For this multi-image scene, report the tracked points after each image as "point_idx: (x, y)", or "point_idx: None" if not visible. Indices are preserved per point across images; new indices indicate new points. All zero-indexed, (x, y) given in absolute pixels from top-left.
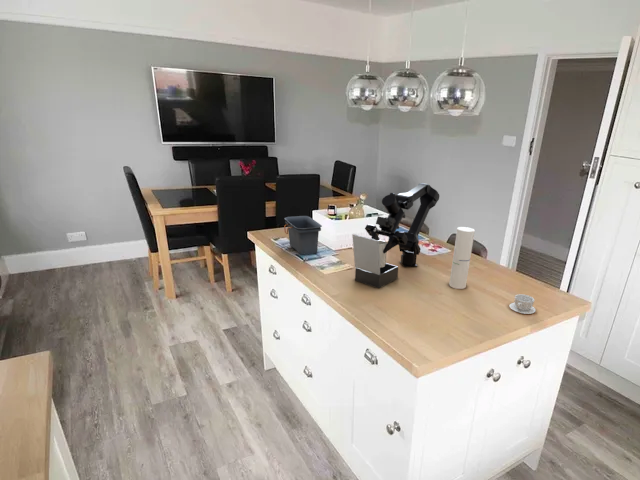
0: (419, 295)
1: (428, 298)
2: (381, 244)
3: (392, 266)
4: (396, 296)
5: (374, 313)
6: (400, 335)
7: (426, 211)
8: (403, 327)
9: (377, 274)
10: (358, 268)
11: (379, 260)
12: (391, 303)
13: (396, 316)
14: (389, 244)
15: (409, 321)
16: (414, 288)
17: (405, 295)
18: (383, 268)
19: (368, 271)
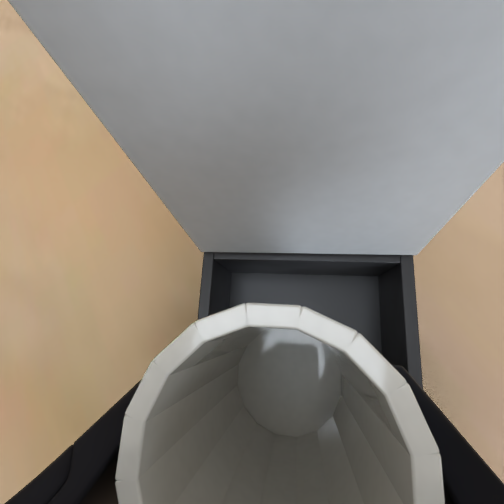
0: (42, 321)
1: (3, 318)
2: (172, 361)
3: None
4: (122, 243)
5: None
6: (20, 38)
7: None
8: (25, 73)
9: (223, 254)
10: (388, 257)
11: (156, 191)
12: (113, 175)
13: (63, 110)
14: (47, 471)
15: (20, 111)
16: (84, 386)
17: (93, 279)
18: None
19: (297, 257)
